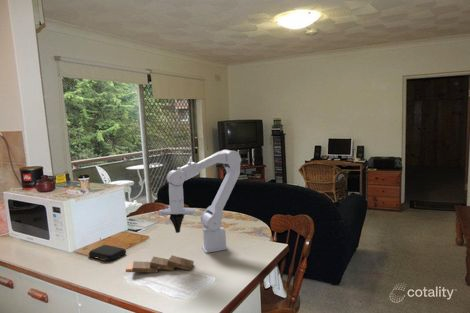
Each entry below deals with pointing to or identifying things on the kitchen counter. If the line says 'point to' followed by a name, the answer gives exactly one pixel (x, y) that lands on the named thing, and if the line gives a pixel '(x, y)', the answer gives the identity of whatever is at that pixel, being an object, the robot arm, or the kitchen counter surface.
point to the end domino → (129, 267)
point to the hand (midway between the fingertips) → (178, 231)
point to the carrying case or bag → (107, 252)
